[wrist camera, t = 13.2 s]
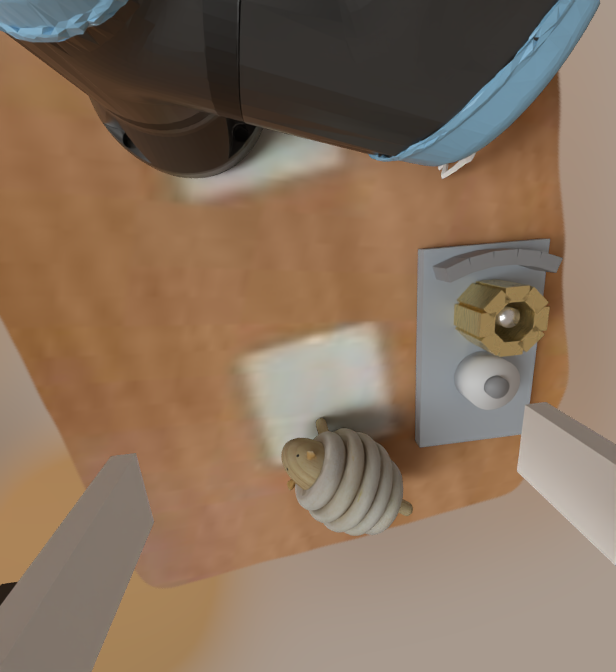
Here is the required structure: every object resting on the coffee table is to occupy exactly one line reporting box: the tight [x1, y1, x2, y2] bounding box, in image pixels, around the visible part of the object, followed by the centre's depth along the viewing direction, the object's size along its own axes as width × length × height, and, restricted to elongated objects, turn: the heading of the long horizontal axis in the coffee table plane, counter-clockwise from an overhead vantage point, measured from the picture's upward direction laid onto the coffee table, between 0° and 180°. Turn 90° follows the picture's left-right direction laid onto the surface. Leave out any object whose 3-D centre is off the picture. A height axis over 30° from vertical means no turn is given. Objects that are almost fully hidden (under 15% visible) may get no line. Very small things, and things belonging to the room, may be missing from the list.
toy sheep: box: [281, 418, 413, 536], centre depth 37 cm, size 11×17×11 cm, turn 63°
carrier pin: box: [495, 306, 520, 328], centre depth 35 cm, size 2×2×4 cm
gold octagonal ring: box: [453, 279, 550, 357], centre depth 35 cm, size 7×7×5 cm
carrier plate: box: [415, 239, 563, 447], centre depth 38 cm, size 24×14×5 cm, turn 5°
